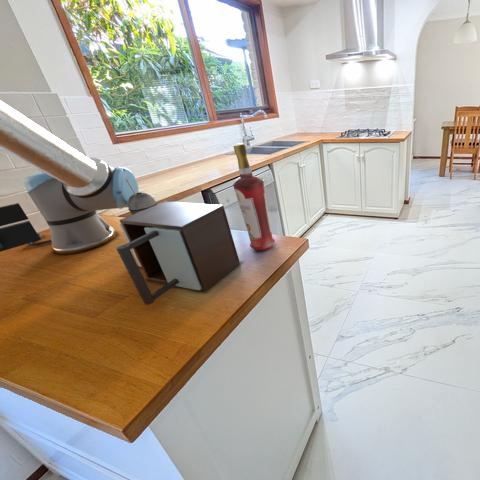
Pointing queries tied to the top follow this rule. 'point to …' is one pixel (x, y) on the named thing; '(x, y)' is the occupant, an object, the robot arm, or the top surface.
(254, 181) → the liquor
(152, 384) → the top surface
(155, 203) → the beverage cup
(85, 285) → the top surface
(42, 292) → the top surface
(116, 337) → the top surface
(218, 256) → the cabinet
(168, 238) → the glass door
